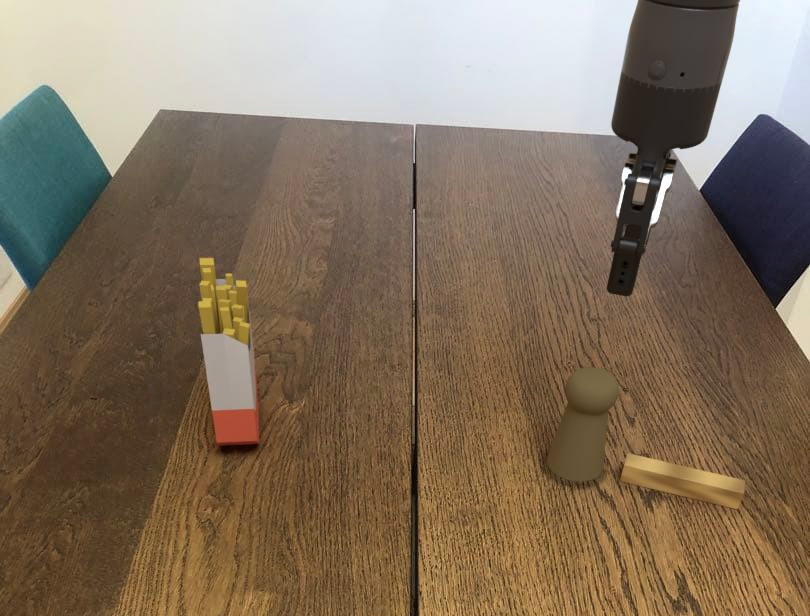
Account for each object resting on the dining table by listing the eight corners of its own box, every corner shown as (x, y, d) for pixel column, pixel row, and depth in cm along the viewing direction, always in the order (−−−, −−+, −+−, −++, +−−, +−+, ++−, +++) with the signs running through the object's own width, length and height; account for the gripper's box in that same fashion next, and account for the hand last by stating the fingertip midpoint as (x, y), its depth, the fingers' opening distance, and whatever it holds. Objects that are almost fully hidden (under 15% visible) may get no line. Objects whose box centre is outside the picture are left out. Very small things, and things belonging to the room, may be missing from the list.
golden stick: (738, 496, 84) (745, 480, 83) (737, 509, 83) (744, 493, 81) (622, 469, 87) (627, 452, 85) (619, 481, 85) (624, 464, 84)
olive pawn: (582, 489, 84) (605, 400, 77) (535, 463, 87) (552, 374, 79) (613, 463, 88) (638, 375, 80) (567, 439, 90) (586, 352, 83)
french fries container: (262, 400, 93) (247, 248, 81) (263, 459, 86) (247, 301, 73) (221, 402, 93) (200, 249, 80) (218, 461, 85) (195, 302, 73)
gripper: (717, 102, 56) (659, 317, 67) (729, 52, 66) (676, 247, 77) (608, 88, 58) (569, 300, 69) (635, 41, 67) (597, 234, 79)
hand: (626, 272), depth 73 cm, fingers open, 8 cm apart
